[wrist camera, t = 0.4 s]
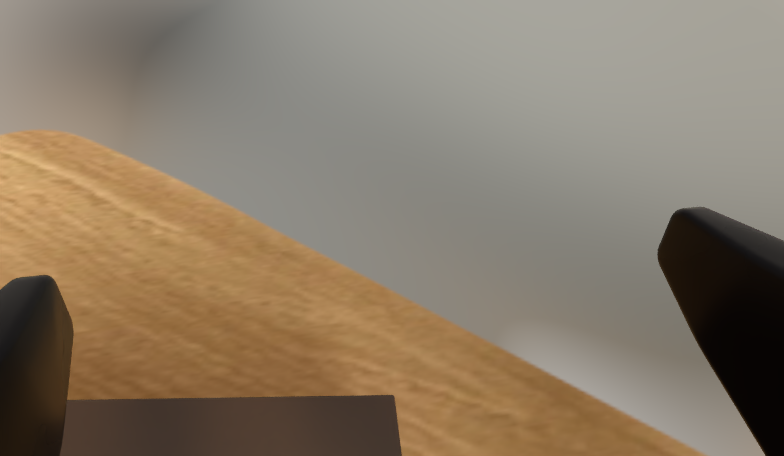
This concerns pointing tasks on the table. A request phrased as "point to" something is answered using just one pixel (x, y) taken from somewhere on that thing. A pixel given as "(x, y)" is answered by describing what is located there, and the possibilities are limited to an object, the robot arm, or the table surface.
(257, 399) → the cabinet
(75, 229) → the table surface
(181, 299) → the table surface
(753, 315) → the robot arm
